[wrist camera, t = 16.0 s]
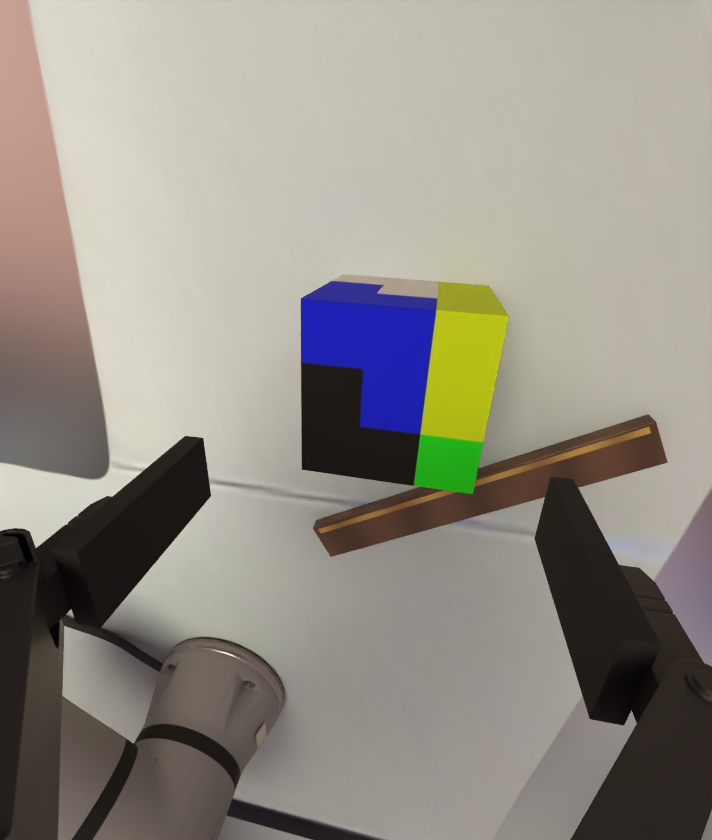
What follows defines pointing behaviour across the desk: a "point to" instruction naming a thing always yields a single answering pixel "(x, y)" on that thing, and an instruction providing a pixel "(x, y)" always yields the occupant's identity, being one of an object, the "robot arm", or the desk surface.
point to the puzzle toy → (399, 379)
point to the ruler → (498, 486)
